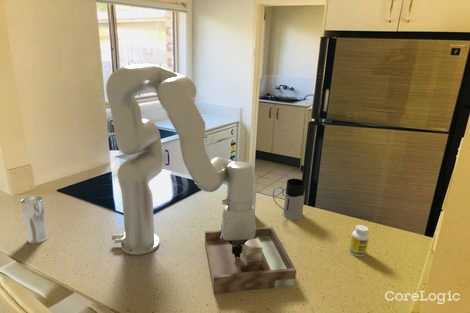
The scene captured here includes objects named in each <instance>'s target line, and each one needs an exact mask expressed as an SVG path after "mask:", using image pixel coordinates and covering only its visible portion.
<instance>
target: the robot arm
mask: <svg viewBox="0 0 470 313" xmlns="http://www.w3.org/2000/svg"><path fill="white" fill-rule="evenodd" d="M105 90H106V91H105V92H106V97H107V100H108V105H109V109H110V114H111V119H112V125H113V126H112V127H113V131H114V138H115V141H116V146H117V149H118V150H119V151H120V153H122V154H123V155H128V156H130V155H131V157H130V158H127V159H126V160H124V161H123V162H122V163H121V164H120V165H119V167H118V169H117V172H116V173H117V174H116V176H117V180H118V184H119V187H120V188H119V189H120V192H121V199H122V200H121V202H122V210H123V223H124V232H122V233H114V234H111V241H114V242H113V243H114V244H119V243H120V247H121V250H122V252H124V253H125V254H128V255H133V256H142V255H145V254H149V253H152V252H153V251H155V250H156V249H157V248H158V247H159V245H160V238H159V236H157V234H155V225H154V224H155V223H154V222H155V220H154V203H153V202H154V201H153V198H154V197H153V193H152V190H151V188H150V186H149V183H150V182H151V181H152V180H153V179H155V177H158V175H160V174H161V172H162V171H163V169H164V155H163V145H162V137H161V132H160V129H159V127H158V126H157V124H156V123H155V122H154V121H152V119H151V120H150V119H147V118H143V117H142V110H141V107H140V104H139V103H138V100H137V99H136V97H137V96H140V95H145V94H148V93H149V94H150V93H154V94H156V97H157V99H158V101H159V103H160V105H161V107H162V108H163V111H164V112H165V114H166V116H167V117H168V119H169V121H170V123H171V124H172V126H173V128H174V130H175V131H176V134H177V135H178V137H179V144H180V152H181V155H182V157H181V158H182V160H183V163H184V166H185V168H186V170H187V172H188V174H189V175H190V177H191V179H192V181H193V182H194V183H195V185H196V186H197V187H198V188H199V189H200V190H201V191H203V192H206V193H213V192H215V191H217V190H219V189H220V188H221V187H222V185H223V184H224V183H226V184H227V188H226V197H225V199H222V200H221V205H224V207H223V212H222V216H221V217H222V218H221V224H220V225H221V227H220V230H221V231H222V233H221V236H220V238H221V241H228V242H229V243H230V244H231V245H232V254H234V256H235V258H237V256H238V258H239V257H240V253H242V250H243V245H244V243H245V242H247V241H248V240H250V239H254V238H255V233H256V228H257V225H256V208H255V209H254V207H253V205H252V193H253V177H254V176H255V169H254V166H253V165H252V164H251V163H250V162H247V161H236V160H232V159H229V158H227V157H226V158H225V157H222V156H215V157H212V158H211V159H210V157H209V156H208V153H207V150H206V147H205V134H206V122H205V120H204V118H203V116H202V114H201V113H200V111H199V109H198V108H197V105H196V104H195V101H194V100H195V98H196V96H197V87H196V85H195V83H194V81H193V80H191V79H190V78H189V77H188V76H185V75H183V74H181V73H178V72H175V71H172V70H170V69H167V68H165V67H162V66H160V65H156V64H153V63H152V64H151V63H144V64H143V63H142V64H130V65H125V66H121V67H119V68H117V69H116V70H114V71H113V72H112V73H111V74H110V75H109V77H108V79H107V81H106V86H105ZM134 154H135V155H134ZM236 240H238V241H237V243H236Z"/></svg>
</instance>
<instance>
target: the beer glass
mask: <svg viewBox="0 0 470 313" xmlns="http://www.w3.org/2000/svg"><path fill="white" fill-rule="evenodd" d="M19 210H20V215H21V220H22V221H23V223H24V226H25V228H26V231H27V242H28V243H29V244H31V245H35V244H40V243H43V242H45V241H46V240H48V238H49V236H48V235H49V234H48V232H47V230H46V214H47V213H46V207H45V203H44V199H43V197H42V196H41V195H29V196H26V197H24V198H22V199H21V200H20V201H19Z"/></svg>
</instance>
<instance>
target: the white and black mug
mask: <svg viewBox="0 0 470 313" xmlns="http://www.w3.org/2000/svg"><path fill="white" fill-rule="evenodd" d="M306 184H307V183H306V181H305V180H303V179H300V178H289V179H287V180H286V189H285V191H284V188H283V187H282V186H280V185H277V186H275V187H274V188H273V191H272V197H273V200H274V203H275V204H276V205H277V206H278V207H279V208H281V209H282V210H283V211H282V214H281V215H282V217H284V218H285V219H287V220H291V221H300V220H302V219H303V218H304V214H303V212H304V204H305V203H304V202H305V194H306ZM278 188H281V191H282V192H281V194H282V196H284V203H283V207H282V206H281V205H280V204H278V202H277V201H276V199H275V191H276V190H277V189H278ZM284 192H285V193H284Z"/></svg>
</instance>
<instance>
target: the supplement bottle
mask: <svg viewBox="0 0 470 313" xmlns="http://www.w3.org/2000/svg"><path fill="white" fill-rule="evenodd" d="M368 233H369V228H368V227H367V226H366V225H363V224H357V225H356V226H355V228H354V230H353V231H352V233H351V238H350V244H349V248H348V250H349V252H350V253H351V255H353V256H356V257H363V256H365V255H366V253H367V247H368V243H369V239H370V236H369V234H368Z"/></svg>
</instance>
